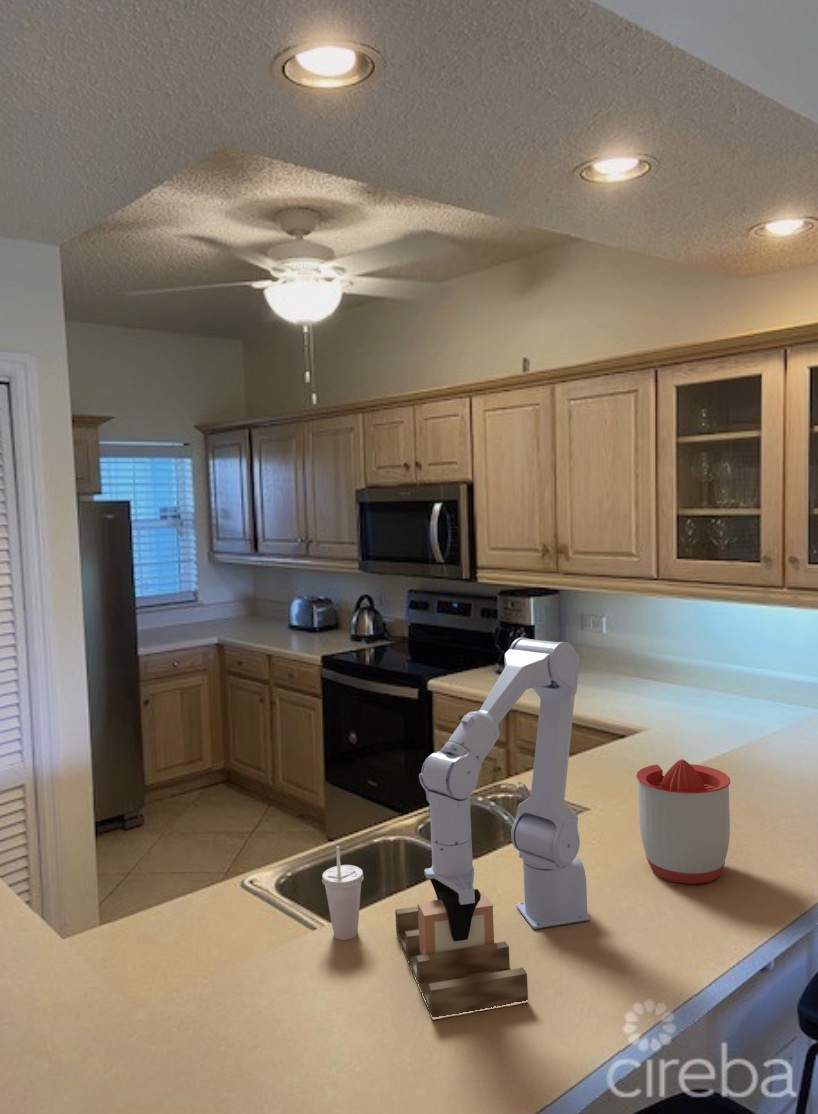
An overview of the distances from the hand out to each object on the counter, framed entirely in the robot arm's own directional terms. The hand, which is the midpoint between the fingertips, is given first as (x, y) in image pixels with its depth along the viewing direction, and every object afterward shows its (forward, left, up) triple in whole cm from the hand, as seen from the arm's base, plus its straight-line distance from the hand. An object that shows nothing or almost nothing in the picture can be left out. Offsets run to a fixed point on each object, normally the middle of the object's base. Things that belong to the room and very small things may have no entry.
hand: (455, 930), depth 118 cm
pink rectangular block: (0, 0, -3) cm, 3 cm away
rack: (0, 0, -5) cm, 5 cm away
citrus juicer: (-47, -18, -5) cm, 51 cm away
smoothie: (+14, -14, -5) cm, 21 cm away
